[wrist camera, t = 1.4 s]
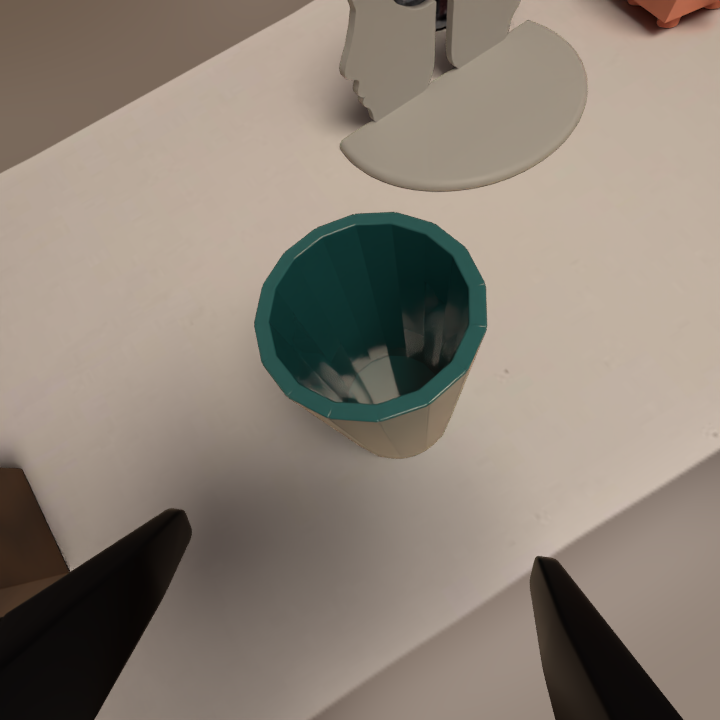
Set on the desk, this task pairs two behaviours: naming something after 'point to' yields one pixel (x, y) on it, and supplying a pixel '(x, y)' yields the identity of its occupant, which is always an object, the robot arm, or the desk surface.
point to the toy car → (440, 10)
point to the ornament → (457, 93)
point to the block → (24, 544)
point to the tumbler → (374, 328)
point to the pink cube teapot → (673, 9)
